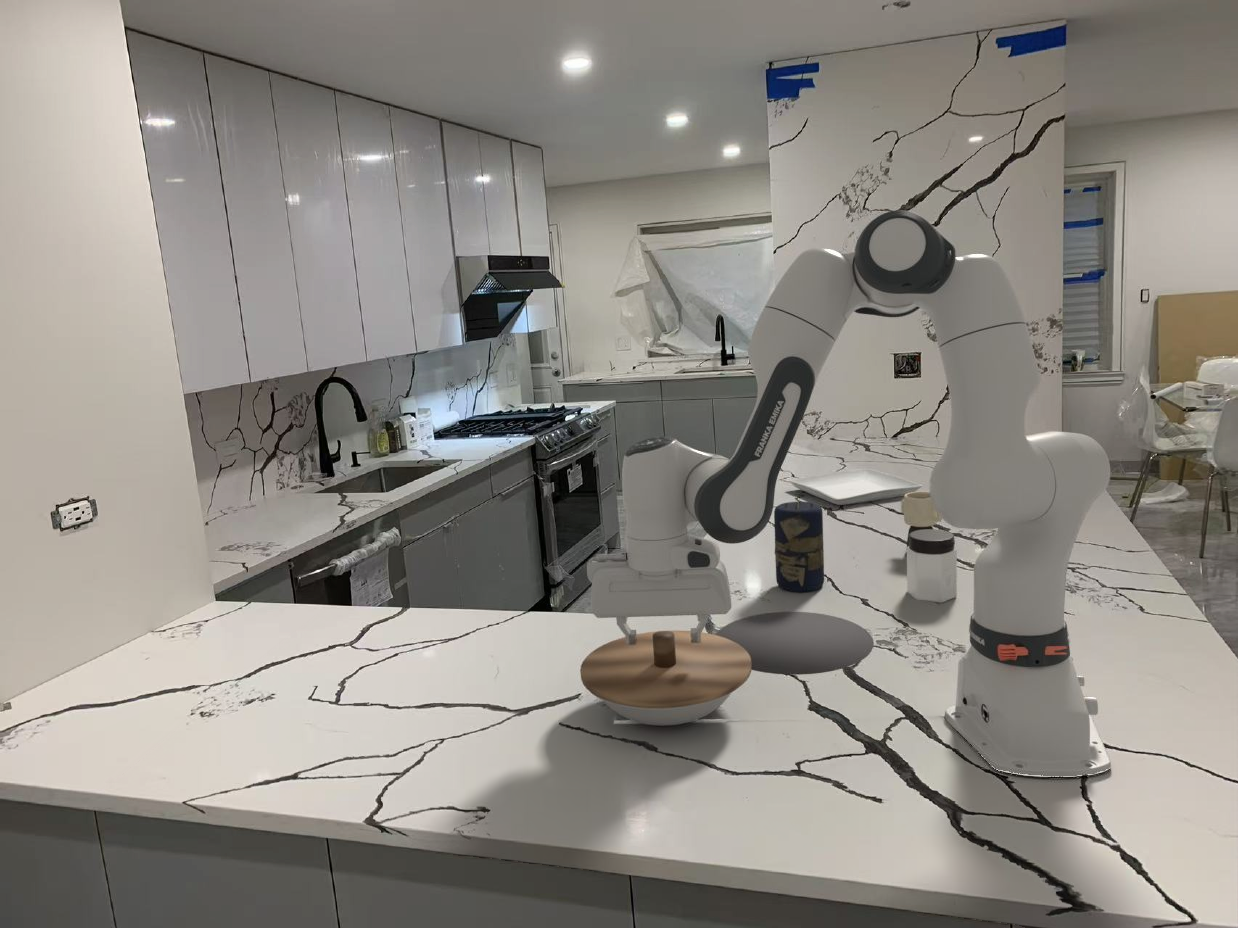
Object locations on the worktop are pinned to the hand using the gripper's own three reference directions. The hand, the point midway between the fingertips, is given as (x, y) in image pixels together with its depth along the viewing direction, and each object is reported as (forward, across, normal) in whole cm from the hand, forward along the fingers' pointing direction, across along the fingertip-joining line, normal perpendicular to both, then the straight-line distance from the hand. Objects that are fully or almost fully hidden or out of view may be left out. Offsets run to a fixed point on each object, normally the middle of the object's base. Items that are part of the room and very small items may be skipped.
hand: (663, 642), depth 129 cm
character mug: (+11, +52, +72) cm, 89 cm away
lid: (+4, 0, 0) cm, 4 cm away
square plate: (+11, +46, +130) cm, 138 cm away
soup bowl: (+11, 0, 0) cm, 11 cm away
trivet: (+11, +20, +24) cm, 33 cm away
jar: (+11, +48, +45) cm, 67 cm away
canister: (+11, +24, +52) cm, 58 cm away
